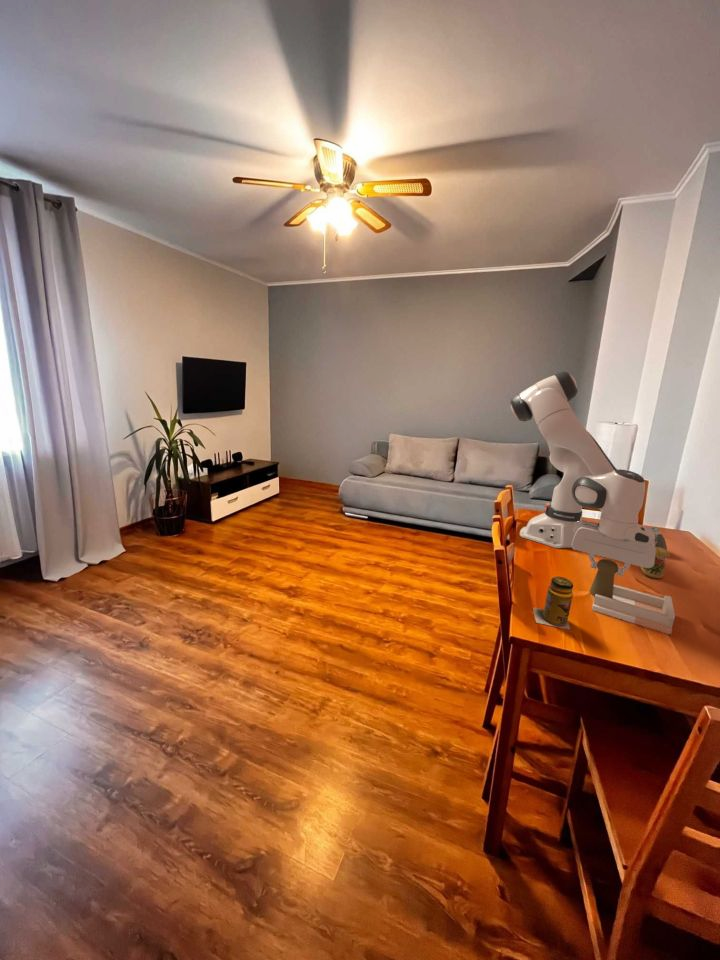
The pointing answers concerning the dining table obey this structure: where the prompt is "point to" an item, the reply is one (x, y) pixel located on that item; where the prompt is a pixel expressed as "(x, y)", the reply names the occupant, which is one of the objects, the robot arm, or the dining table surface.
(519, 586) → the dining table surface
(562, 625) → the condiment
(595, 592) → the cork
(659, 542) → the mineral rock
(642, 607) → the white tray
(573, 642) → the dining table surface
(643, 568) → the hamburger
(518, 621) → the dining table surface
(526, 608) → the dining table surface
